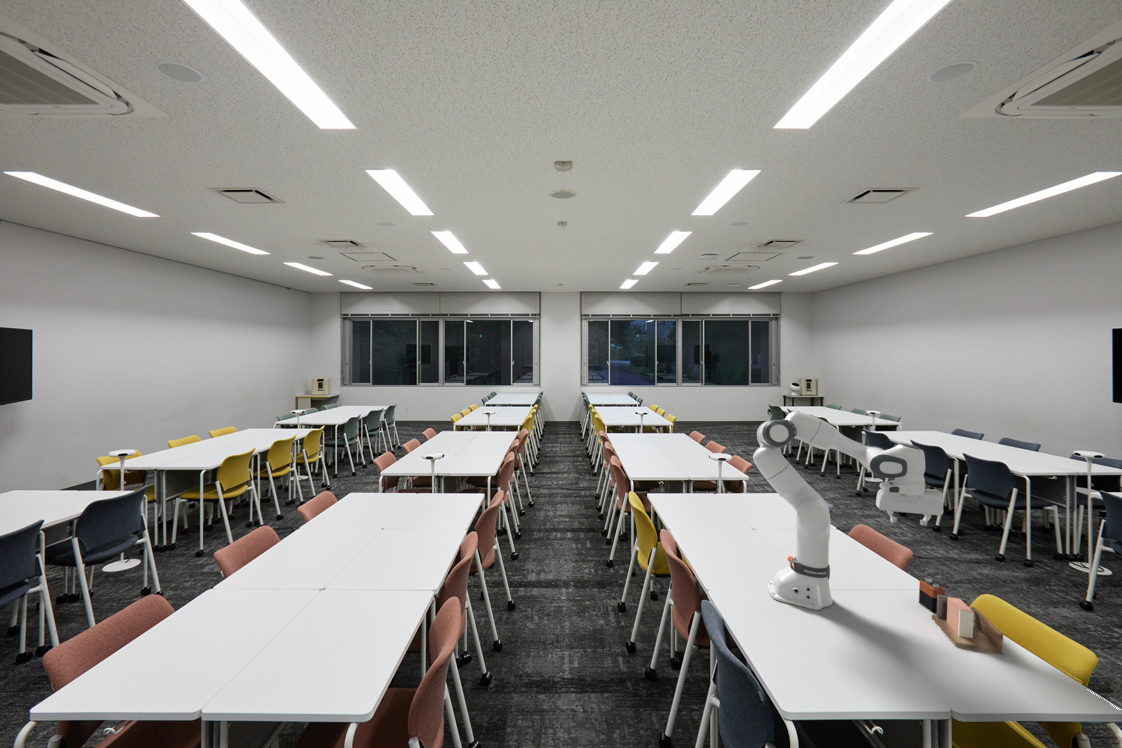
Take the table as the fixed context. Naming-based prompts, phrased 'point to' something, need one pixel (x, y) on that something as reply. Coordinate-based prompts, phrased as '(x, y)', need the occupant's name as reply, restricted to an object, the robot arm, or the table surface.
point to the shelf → (975, 634)
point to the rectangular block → (960, 617)
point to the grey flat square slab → (944, 605)
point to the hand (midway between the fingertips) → (908, 523)
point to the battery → (929, 594)
